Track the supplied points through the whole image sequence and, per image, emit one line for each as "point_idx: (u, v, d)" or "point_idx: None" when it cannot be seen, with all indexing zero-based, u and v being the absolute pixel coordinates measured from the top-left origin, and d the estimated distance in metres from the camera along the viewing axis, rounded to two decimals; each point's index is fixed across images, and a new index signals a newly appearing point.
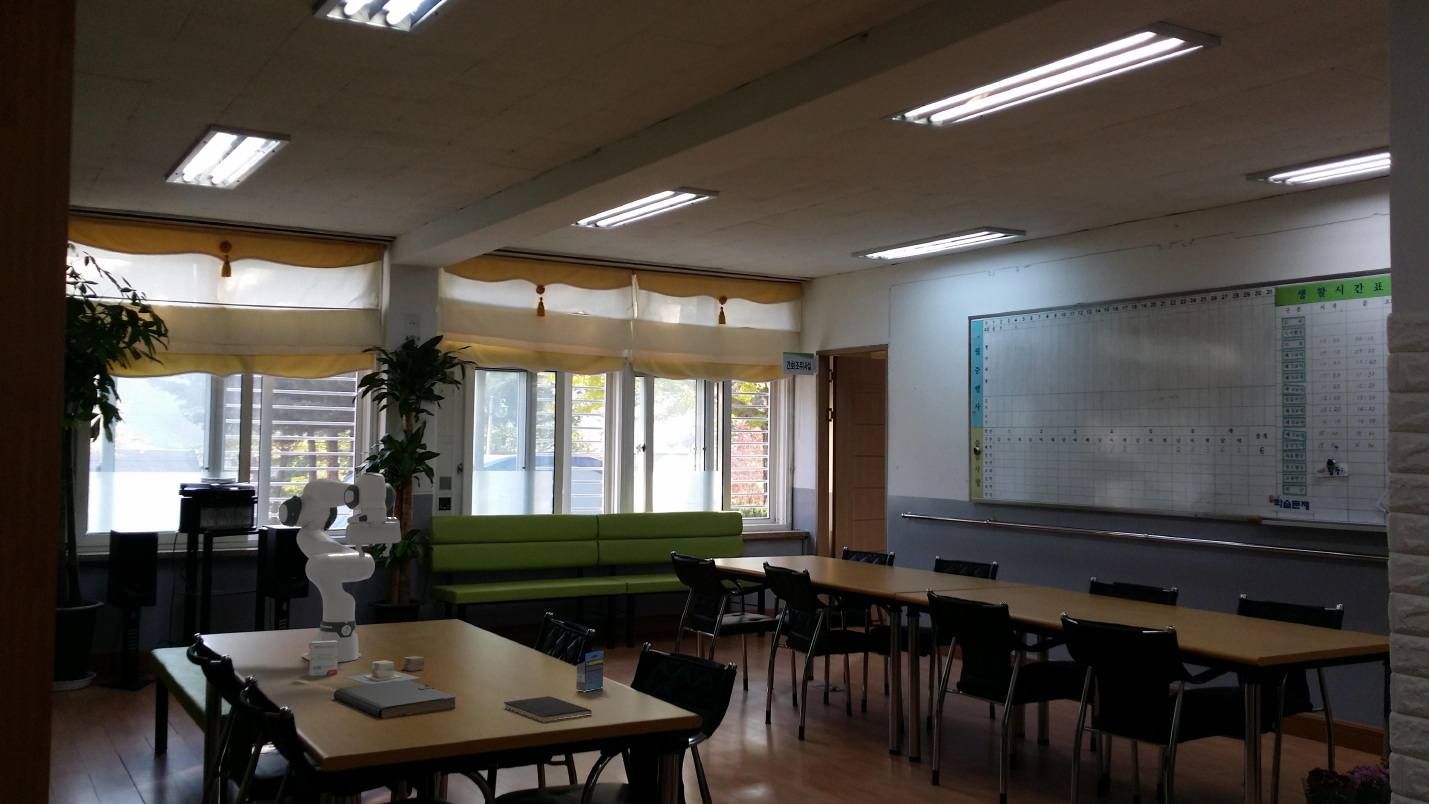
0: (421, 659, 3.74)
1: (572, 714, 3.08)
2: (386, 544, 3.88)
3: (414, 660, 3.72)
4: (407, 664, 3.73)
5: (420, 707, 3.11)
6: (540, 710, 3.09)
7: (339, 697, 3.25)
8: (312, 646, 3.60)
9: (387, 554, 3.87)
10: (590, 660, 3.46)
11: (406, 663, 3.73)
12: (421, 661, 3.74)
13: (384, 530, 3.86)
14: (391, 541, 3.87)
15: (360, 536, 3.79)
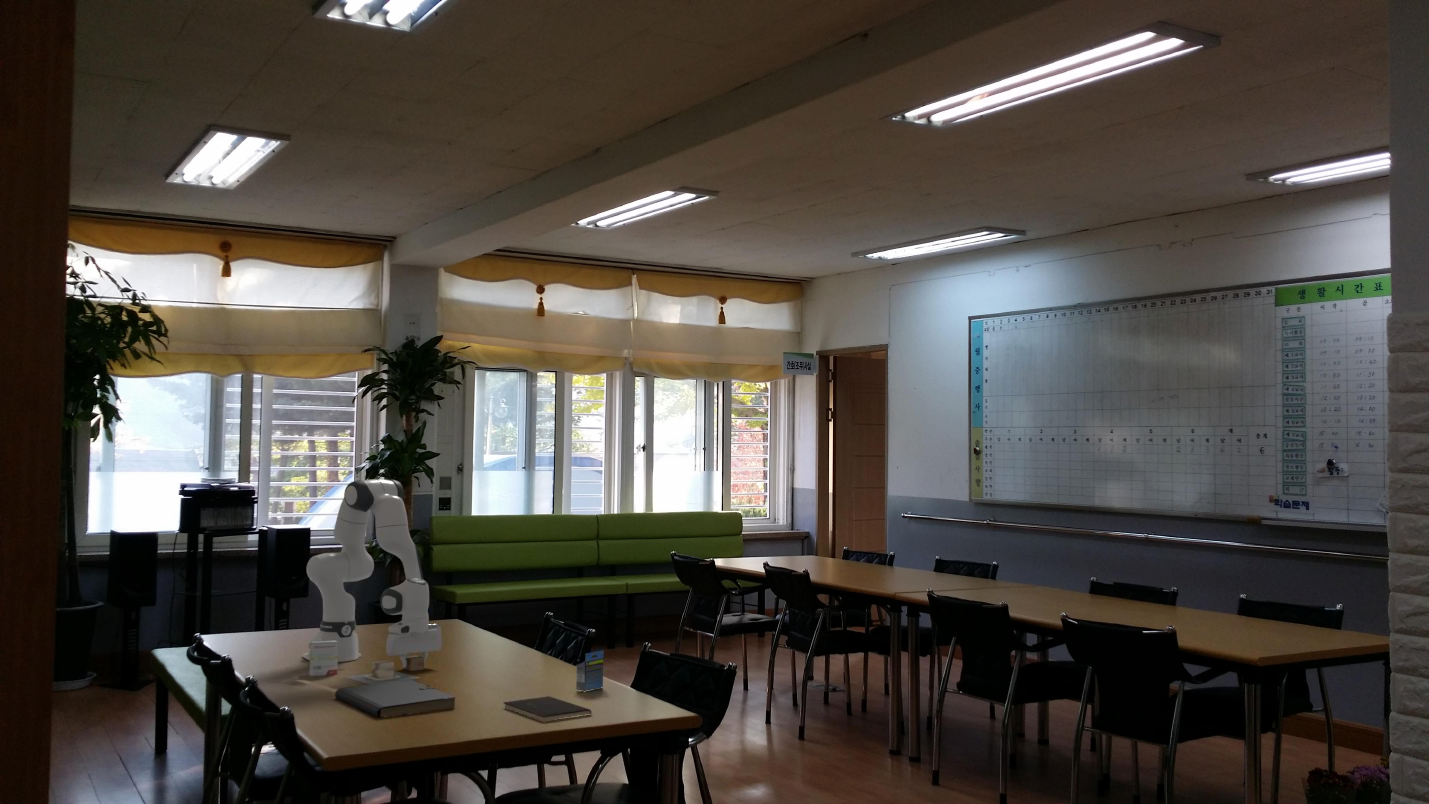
0: (421, 659, 3.74)
1: (572, 714, 3.08)
2: (422, 652, 3.78)
3: (414, 660, 3.72)
4: None
5: (419, 707, 3.11)
6: (540, 710, 3.09)
7: (340, 696, 3.25)
8: (312, 646, 3.60)
9: None
10: (590, 660, 3.46)
11: None
12: (421, 661, 3.74)
13: (425, 639, 3.77)
14: (431, 650, 3.78)
15: (400, 648, 3.69)
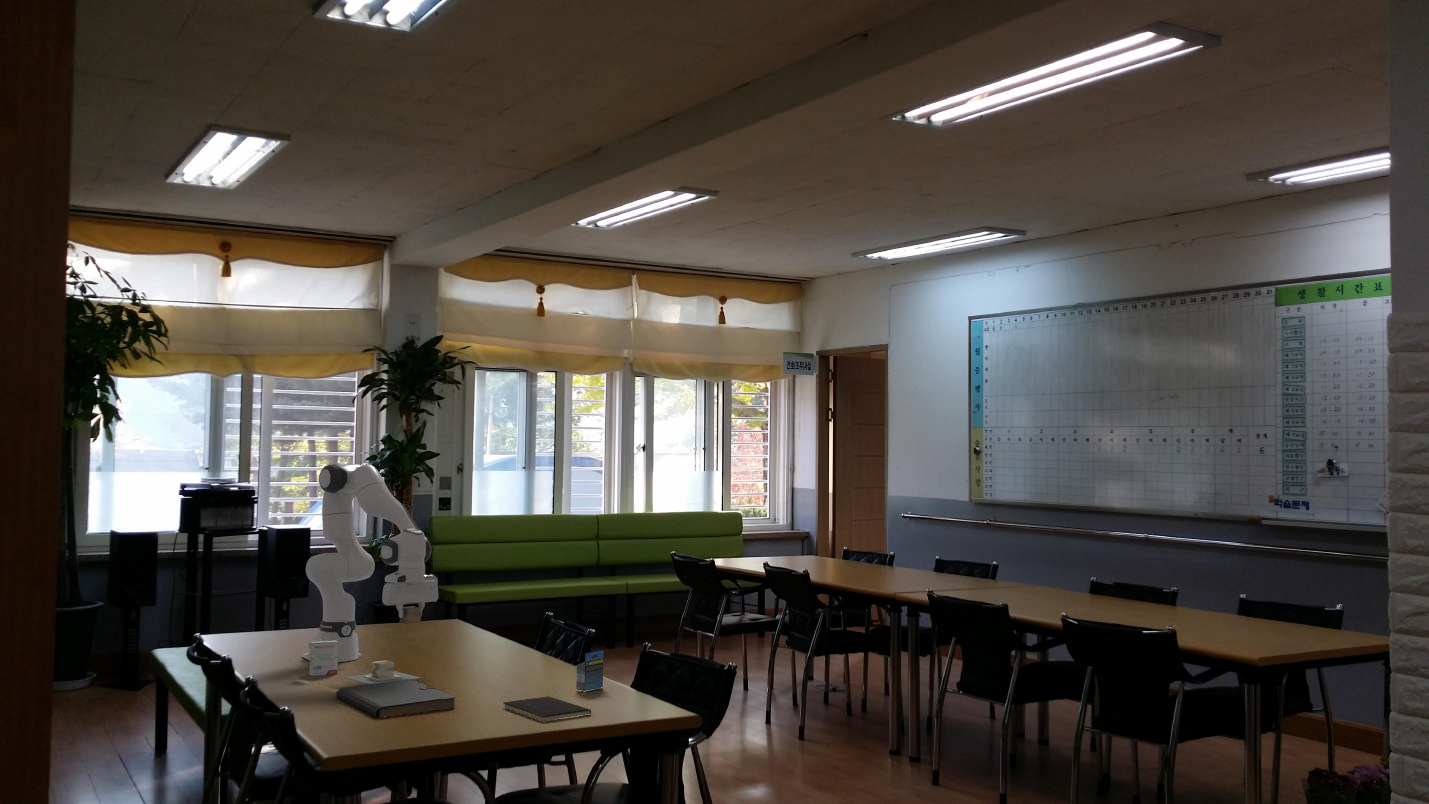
0: (418, 609, 3.72)
1: (572, 714, 3.08)
2: (419, 603, 3.76)
3: (411, 610, 3.70)
4: None
5: (419, 707, 3.11)
6: (540, 710, 3.09)
7: (341, 696, 3.26)
8: (312, 646, 3.60)
9: None
10: (590, 660, 3.46)
11: None
12: (418, 611, 3.72)
13: (421, 589, 3.75)
14: (428, 601, 3.76)
15: (397, 597, 3.67)
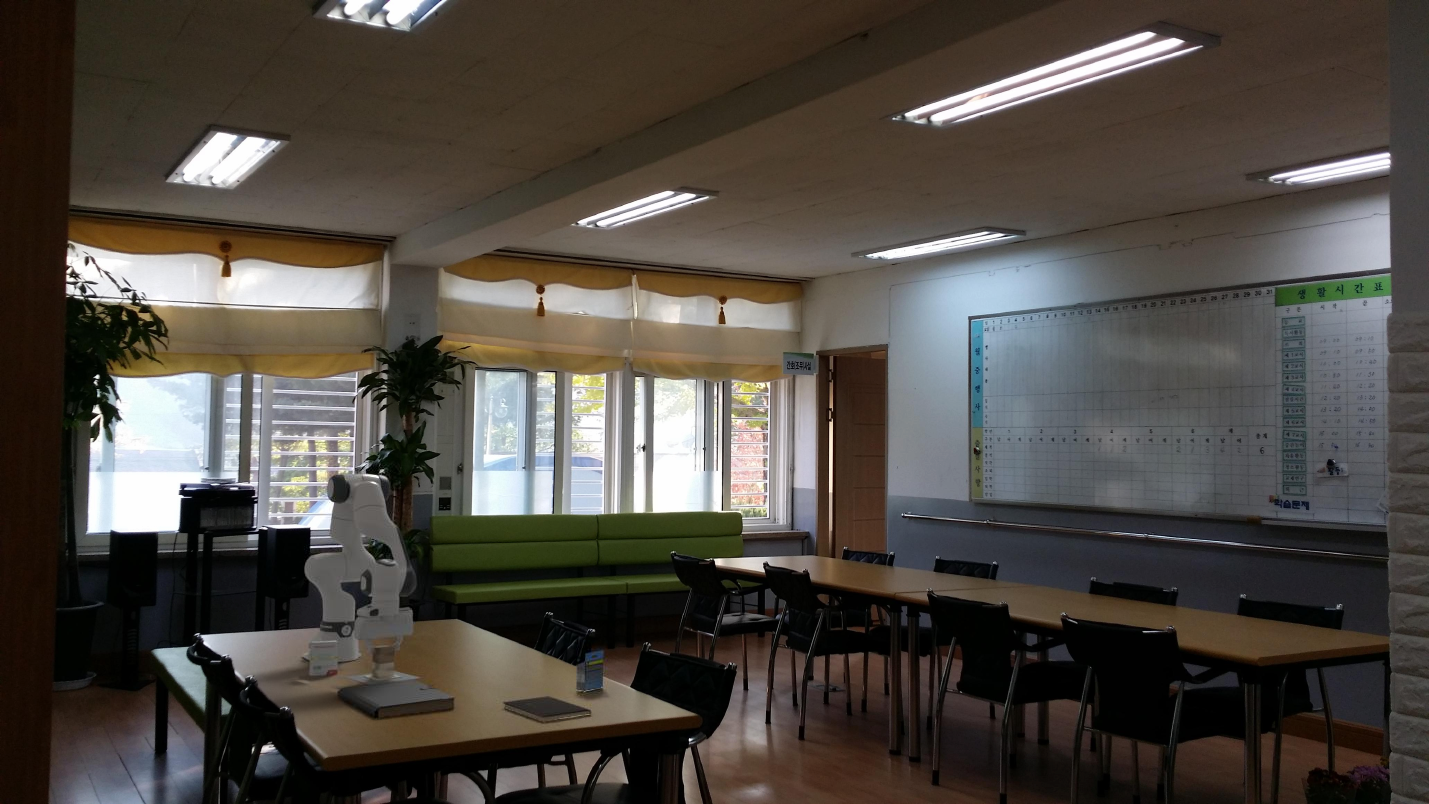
0: (391, 648, 3.58)
1: (572, 714, 3.08)
2: (397, 636, 3.63)
3: (383, 649, 3.56)
4: (376, 654, 3.57)
5: (418, 707, 3.11)
6: (540, 710, 3.09)
7: (342, 696, 3.26)
8: (312, 646, 3.60)
9: (398, 647, 3.62)
10: (590, 660, 3.46)
11: (375, 653, 3.57)
12: (391, 650, 3.58)
13: (395, 622, 3.61)
14: (402, 634, 3.62)
15: (369, 631, 3.53)
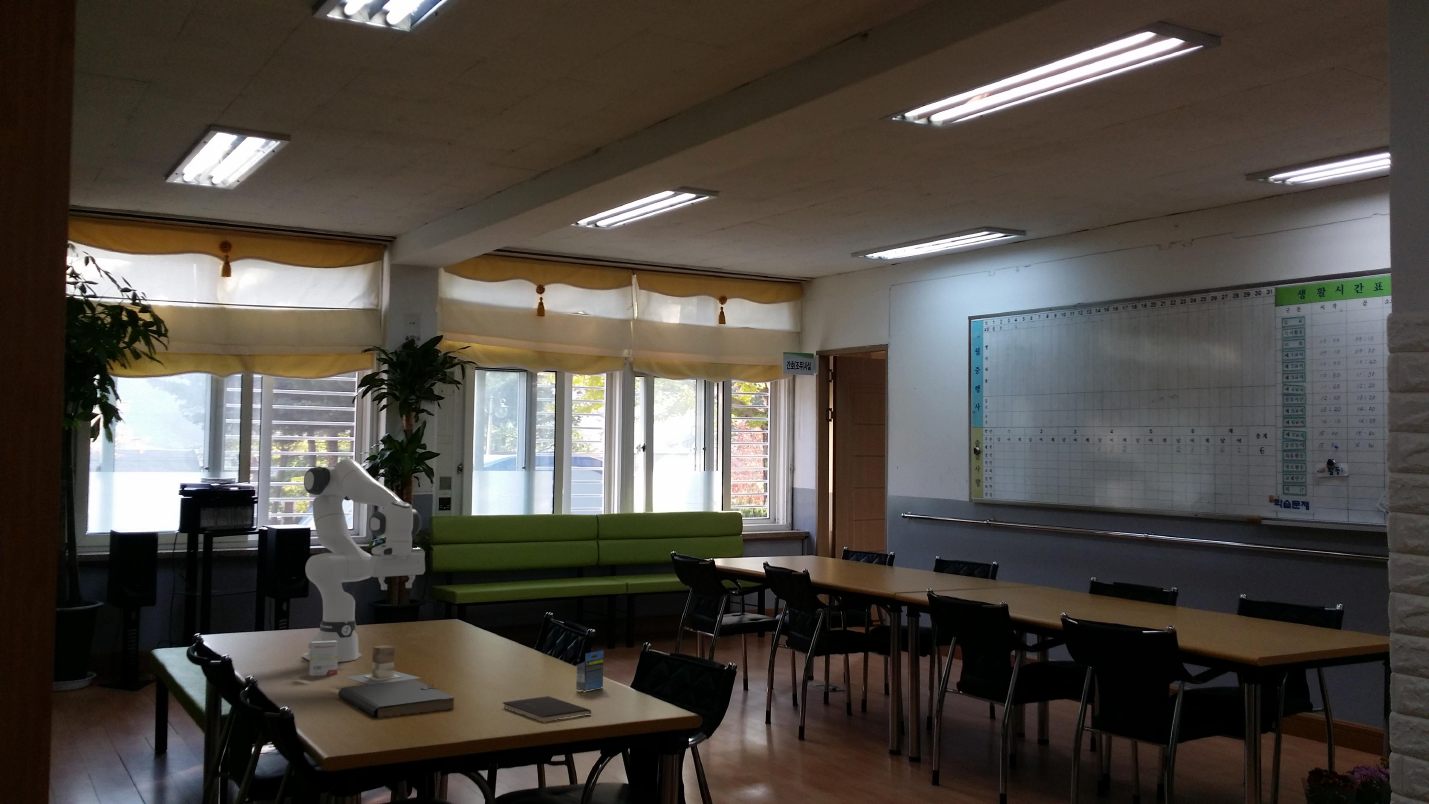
0: (391, 648, 3.58)
1: (572, 714, 3.08)
2: (409, 575, 3.79)
3: (383, 649, 3.56)
4: (376, 654, 3.57)
5: (417, 707, 3.11)
6: (539, 710, 3.09)
7: (343, 696, 3.26)
8: (312, 646, 3.60)
9: (410, 586, 3.78)
10: (590, 660, 3.46)
11: (375, 653, 3.57)
12: (391, 650, 3.58)
13: (408, 562, 3.77)
14: (414, 574, 3.79)
15: (383, 569, 3.70)
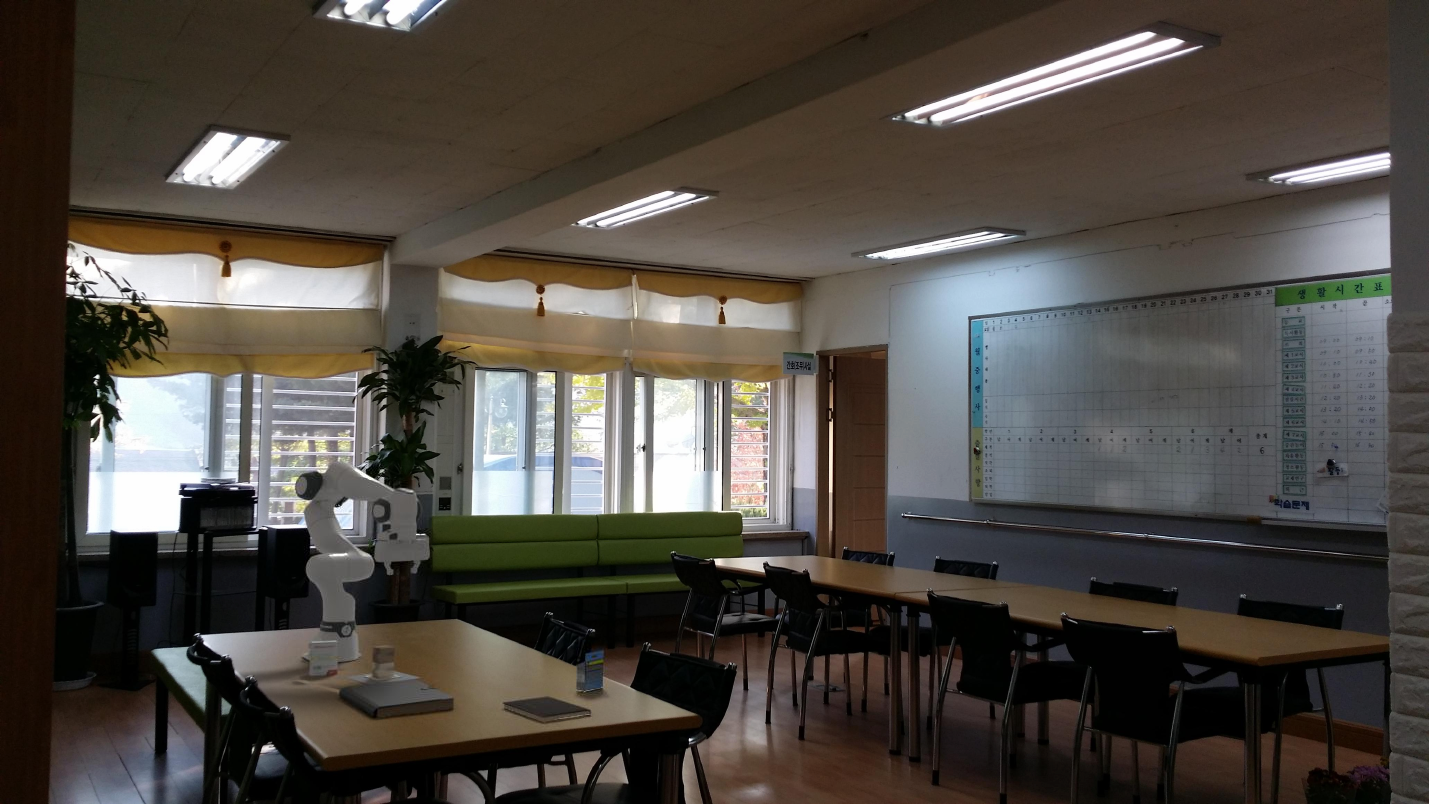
0: (391, 648, 3.58)
1: (571, 714, 3.07)
2: (414, 561, 3.86)
3: (383, 649, 3.56)
4: (376, 654, 3.57)
5: (417, 707, 3.11)
6: (539, 710, 3.09)
7: (343, 696, 3.26)
8: (312, 646, 3.60)
9: (415, 571, 3.85)
10: (590, 660, 3.46)
11: (375, 653, 3.57)
12: (391, 650, 3.58)
13: (413, 547, 3.83)
14: (419, 559, 3.85)
15: (389, 554, 3.76)
